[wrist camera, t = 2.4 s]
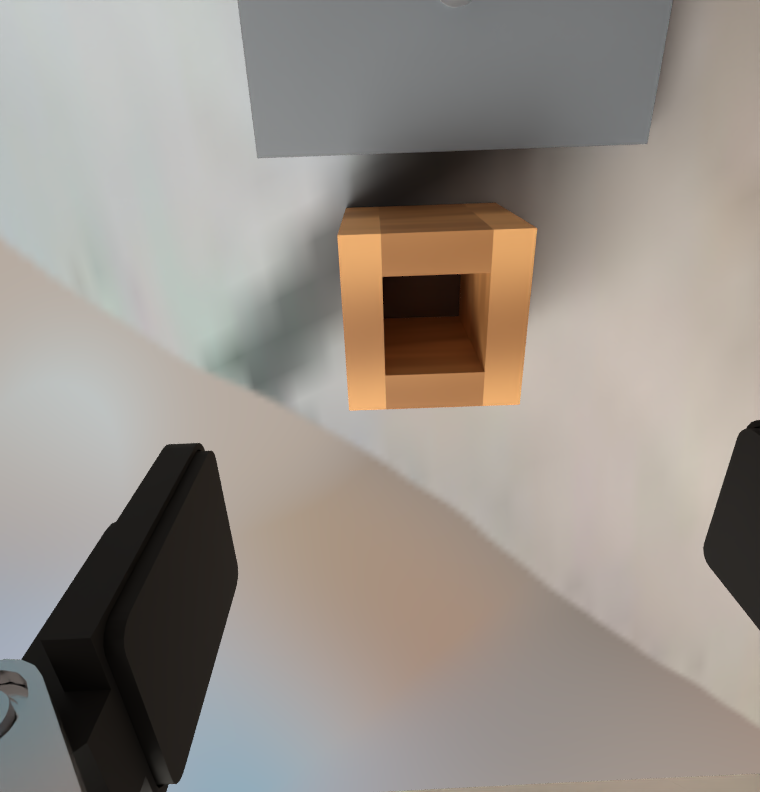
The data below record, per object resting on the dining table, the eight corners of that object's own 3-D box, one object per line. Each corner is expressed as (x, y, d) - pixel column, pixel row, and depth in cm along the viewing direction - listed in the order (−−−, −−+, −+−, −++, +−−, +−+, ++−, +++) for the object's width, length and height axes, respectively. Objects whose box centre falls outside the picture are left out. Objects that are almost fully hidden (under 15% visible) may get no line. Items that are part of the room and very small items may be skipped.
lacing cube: (346, 207, 21) (337, 235, 16) (495, 202, 21) (537, 228, 16) (354, 347, 24) (349, 410, 19) (486, 342, 24) (519, 404, 19)
